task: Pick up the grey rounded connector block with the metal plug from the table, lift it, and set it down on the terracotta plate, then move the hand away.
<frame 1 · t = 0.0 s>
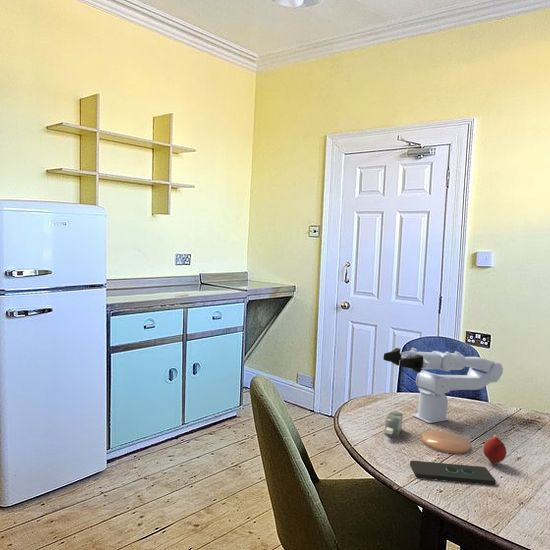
hand: (392, 359, 164), 22 cm above the table, tool horizontal, fingers open, 7 cm apart
plate: (445, 443, 154), on the table
onion: (493, 464, 142), on the table
connector: (393, 432, 160), on the table
smart home device: (451, 476, 133), on the table
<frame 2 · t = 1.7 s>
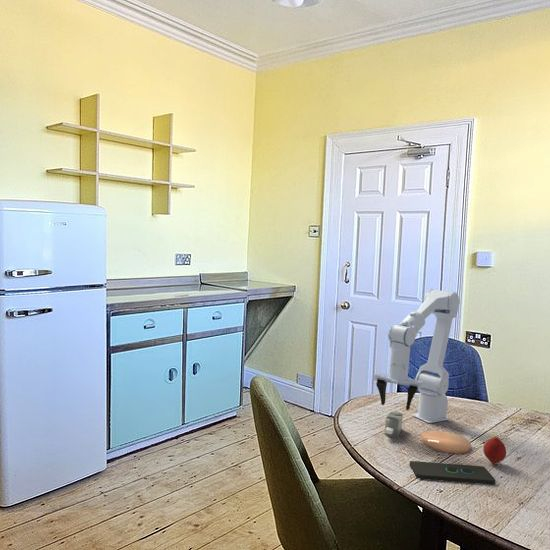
hand: (395, 406, 159), 8 cm above the table, tool pointing down, fingers open, 7 cm apart
nothing on the table moved.
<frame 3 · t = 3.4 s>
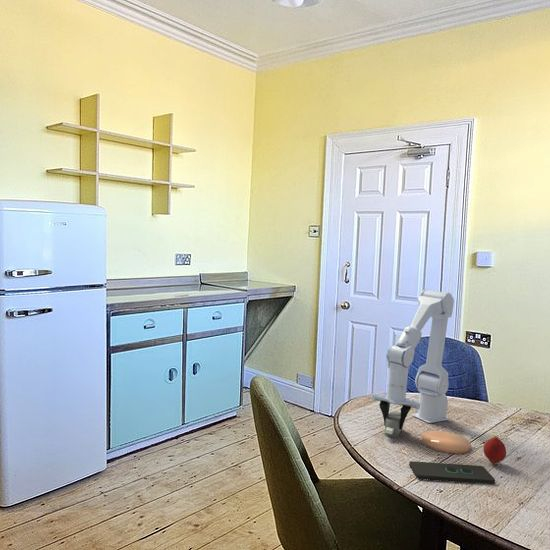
hand: (393, 426, 160), 2 cm above the table, tool pointing down, fingers closed on connector, 4 cm apart
connector: (393, 431, 160), on the table, touching gripper
everything else where it was.
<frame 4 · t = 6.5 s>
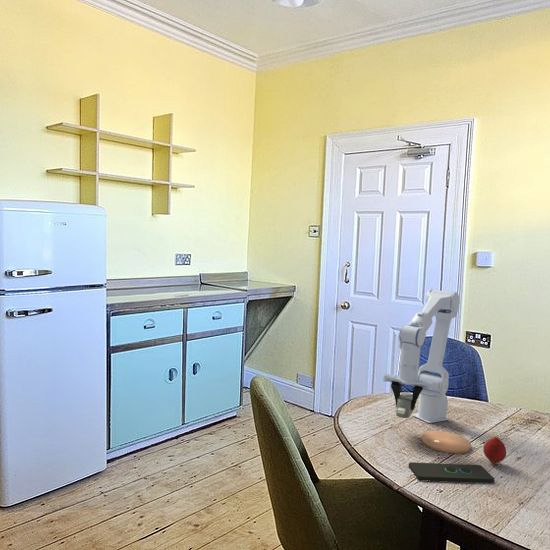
hand: (405, 407, 158), 8 cm above the table, tool pointing down, fingers closed on connector, 4 cm apart
connector: (404, 412, 158), point 7 cm above the table, touching gripper
everything else where it was.
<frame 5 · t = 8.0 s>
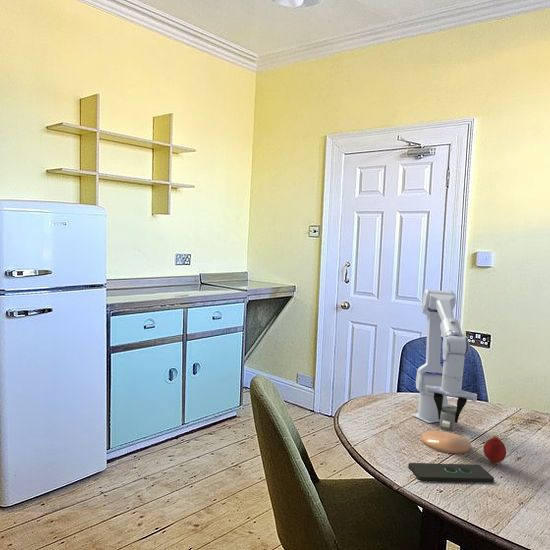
hand: (448, 420, 153), 7 cm above the table, tool pointing down, fingers closed on connector, 4 cm apart
connector: (447, 425, 153), point 6 cm above the table, touching gripper
everything else where it was.
when the fingers open (4 cm above the table, at t = 9.4 s): connector drops 1 cm, resting on plate.
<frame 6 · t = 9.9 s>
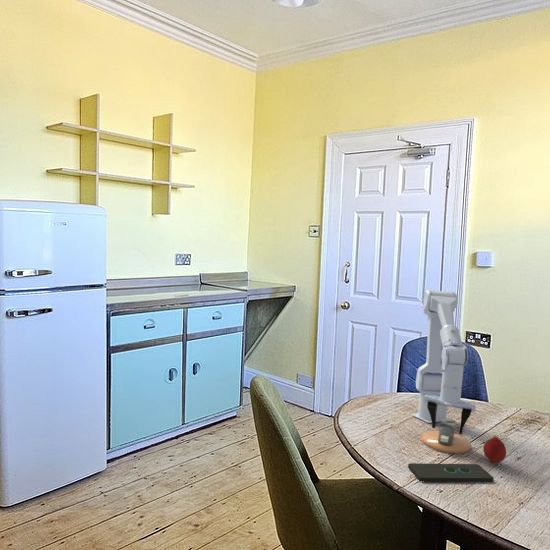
hand: (447, 430, 153), 4 cm above the table, tool pointing down, fingers open, 7 cm apart
connector: (446, 439, 153), point 1 cm above the table, touching plate
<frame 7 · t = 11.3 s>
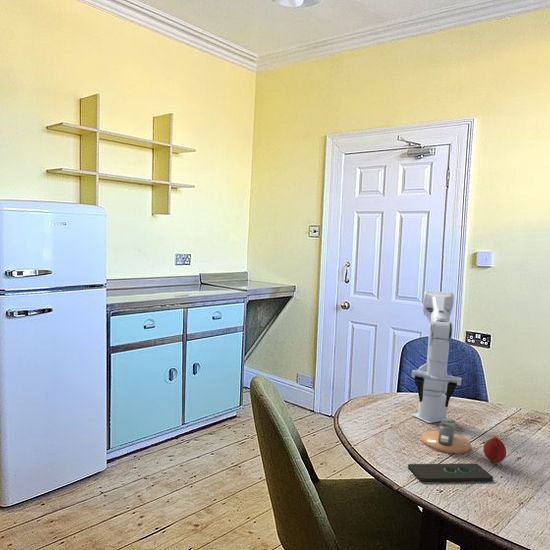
hand: (433, 403, 158), 10 cm above the table, tool pointing down, fingers open, 7 cm apart
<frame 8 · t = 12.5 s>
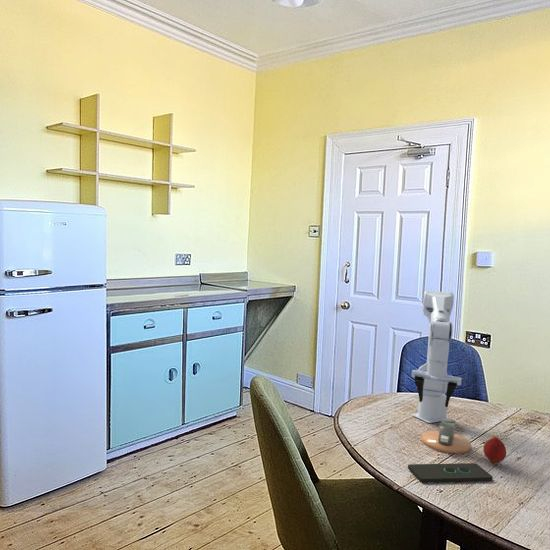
hand: (433, 403, 158), 10 cm above the table, tool pointing down, fingers open, 7 cm apart
nothing on the table moved.
at the end: connector inside the target area on the plate (0.0 cm from its centre), point 1.2 cm above the plate's base; connector tilted 0°; the gripper is holding nothing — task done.
